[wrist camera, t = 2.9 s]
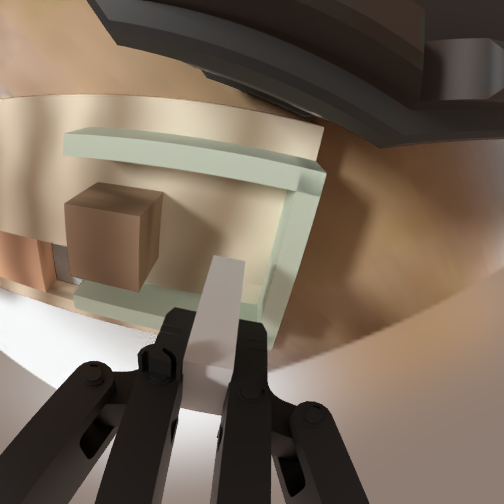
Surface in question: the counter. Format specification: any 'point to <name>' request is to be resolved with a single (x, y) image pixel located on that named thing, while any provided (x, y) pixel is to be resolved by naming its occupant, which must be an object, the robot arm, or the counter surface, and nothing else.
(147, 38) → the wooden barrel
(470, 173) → the counter surface
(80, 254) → the block
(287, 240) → the cubby
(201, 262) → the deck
